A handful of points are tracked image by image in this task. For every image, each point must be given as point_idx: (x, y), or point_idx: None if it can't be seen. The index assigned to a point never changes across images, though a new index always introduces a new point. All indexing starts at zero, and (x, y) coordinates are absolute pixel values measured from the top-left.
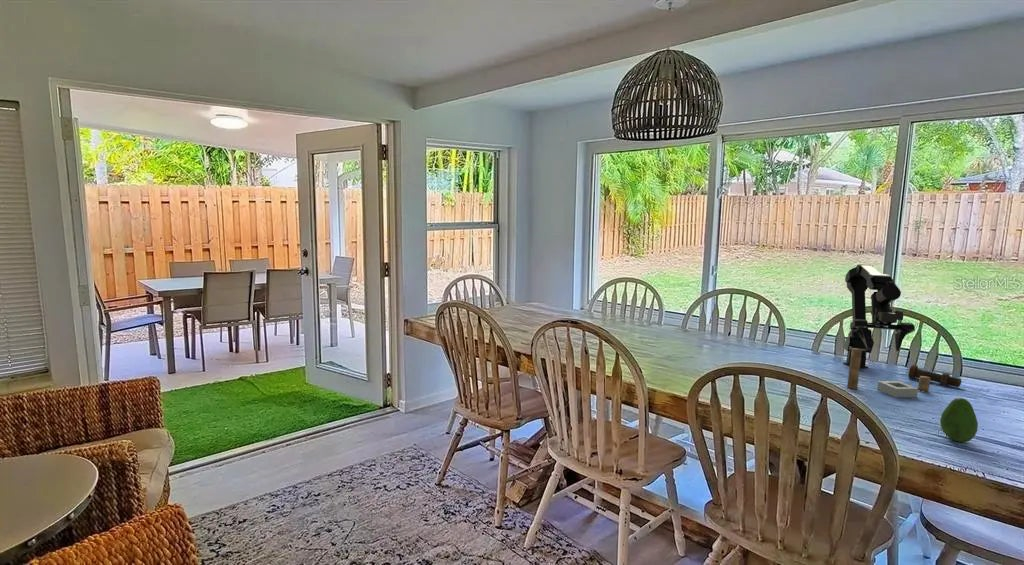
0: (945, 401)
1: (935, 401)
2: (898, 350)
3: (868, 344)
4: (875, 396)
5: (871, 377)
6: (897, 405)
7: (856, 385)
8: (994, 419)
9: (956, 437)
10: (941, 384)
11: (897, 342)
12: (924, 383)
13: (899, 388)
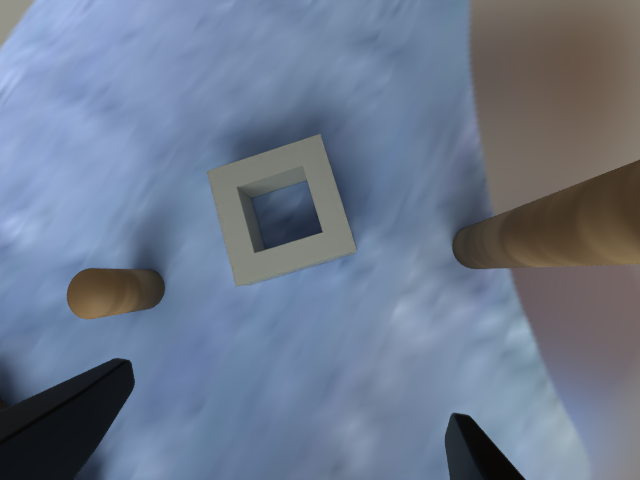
0: (135, 161)
1: (177, 149)
2: (117, 358)
3: (483, 454)
4: (410, 143)
5: (289, 475)
6: (365, 49)
7: (471, 225)
8: (85, 5)
9: None
10: (4, 406)
11: (6, 476)
12: (125, 270)
13: (301, 146)
